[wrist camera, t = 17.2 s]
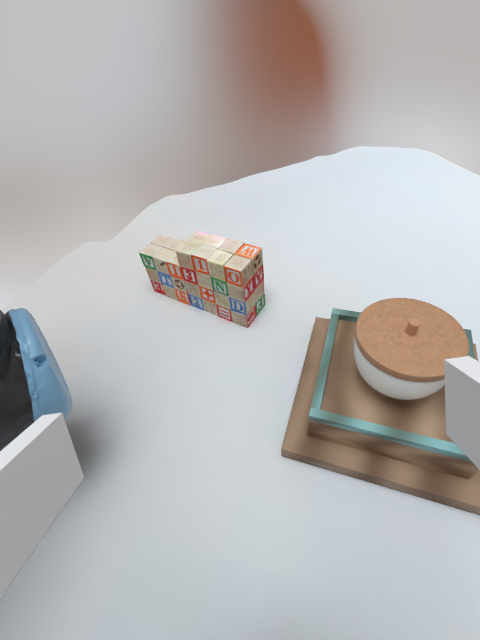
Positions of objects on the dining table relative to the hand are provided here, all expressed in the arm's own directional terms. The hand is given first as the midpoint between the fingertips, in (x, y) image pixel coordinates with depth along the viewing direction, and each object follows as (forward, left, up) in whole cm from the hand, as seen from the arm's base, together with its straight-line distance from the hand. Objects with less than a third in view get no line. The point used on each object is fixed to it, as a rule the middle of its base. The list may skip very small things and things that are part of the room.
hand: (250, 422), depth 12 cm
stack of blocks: (-22, +35, -31) cm, 52 cm away
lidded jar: (+9, +21, -25) cm, 34 cm away
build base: (+9, +22, -31) cm, 39 cm away
